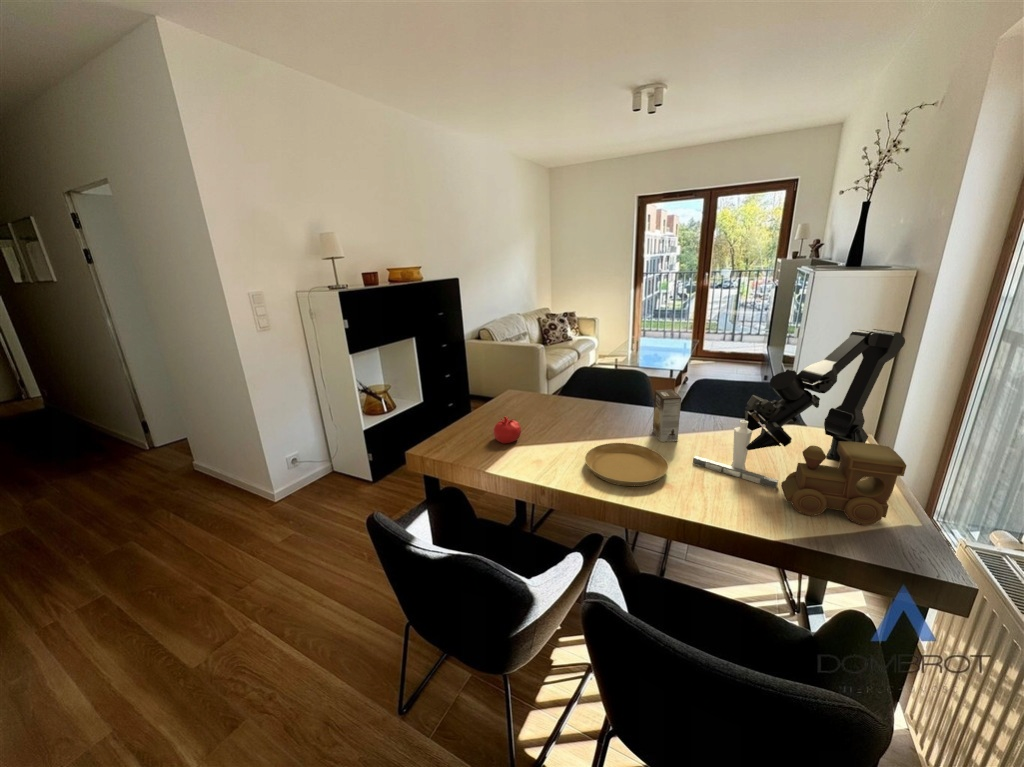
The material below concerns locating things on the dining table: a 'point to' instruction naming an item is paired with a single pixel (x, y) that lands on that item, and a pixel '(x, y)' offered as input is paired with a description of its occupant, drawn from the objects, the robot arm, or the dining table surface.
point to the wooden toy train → (846, 481)
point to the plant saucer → (626, 464)
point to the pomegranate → (507, 430)
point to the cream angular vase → (741, 444)
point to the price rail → (736, 472)
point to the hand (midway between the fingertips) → (741, 441)
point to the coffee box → (666, 415)
